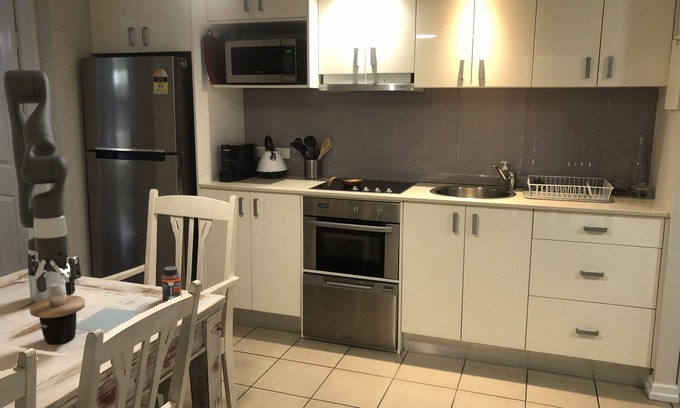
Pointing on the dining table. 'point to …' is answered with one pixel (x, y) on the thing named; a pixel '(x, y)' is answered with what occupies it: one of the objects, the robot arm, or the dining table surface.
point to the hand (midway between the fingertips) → (56, 293)
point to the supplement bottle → (171, 283)
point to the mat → (106, 319)
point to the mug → (59, 329)
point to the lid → (57, 303)
